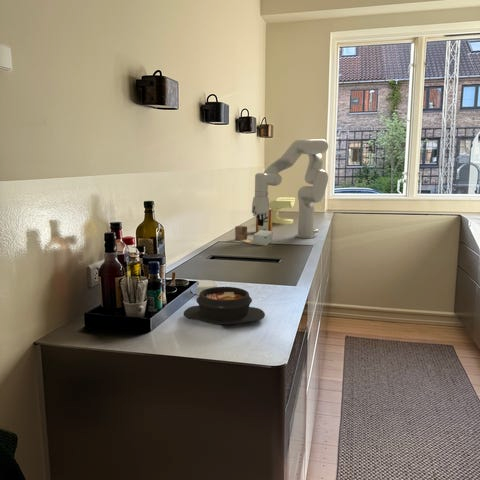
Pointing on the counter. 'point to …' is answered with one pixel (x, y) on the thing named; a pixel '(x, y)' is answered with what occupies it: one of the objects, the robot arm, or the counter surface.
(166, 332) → the counter surface
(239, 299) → the casserole
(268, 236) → the skincare box
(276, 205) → the pale yellow c-shaped piece
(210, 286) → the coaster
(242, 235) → the walnut block
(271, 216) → the baking soda box
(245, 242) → the brass plate
